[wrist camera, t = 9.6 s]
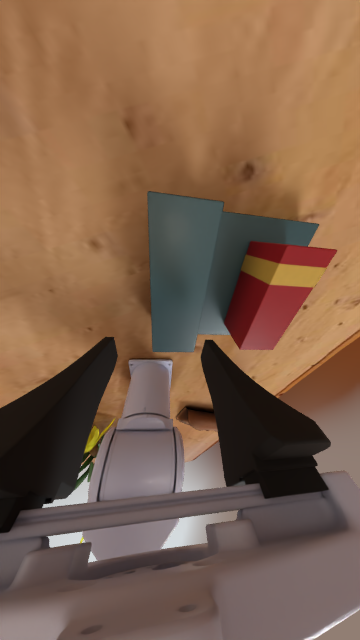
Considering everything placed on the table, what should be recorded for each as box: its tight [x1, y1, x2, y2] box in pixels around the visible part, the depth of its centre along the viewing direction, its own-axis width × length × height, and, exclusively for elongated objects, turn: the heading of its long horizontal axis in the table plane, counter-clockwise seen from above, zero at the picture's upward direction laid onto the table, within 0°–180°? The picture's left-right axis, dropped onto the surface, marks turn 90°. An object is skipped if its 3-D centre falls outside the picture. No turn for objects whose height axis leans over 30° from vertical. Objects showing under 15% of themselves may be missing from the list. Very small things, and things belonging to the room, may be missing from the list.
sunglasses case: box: [176, 407, 218, 432], centre depth 39 cm, size 18×7×7 cm, turn 66°
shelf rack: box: [147, 191, 319, 352], centre depth 15 cm, size 14×16×6 cm
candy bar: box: [224, 241, 337, 350], centre depth 14 cm, size 10×4×5 cm, turn 175°
